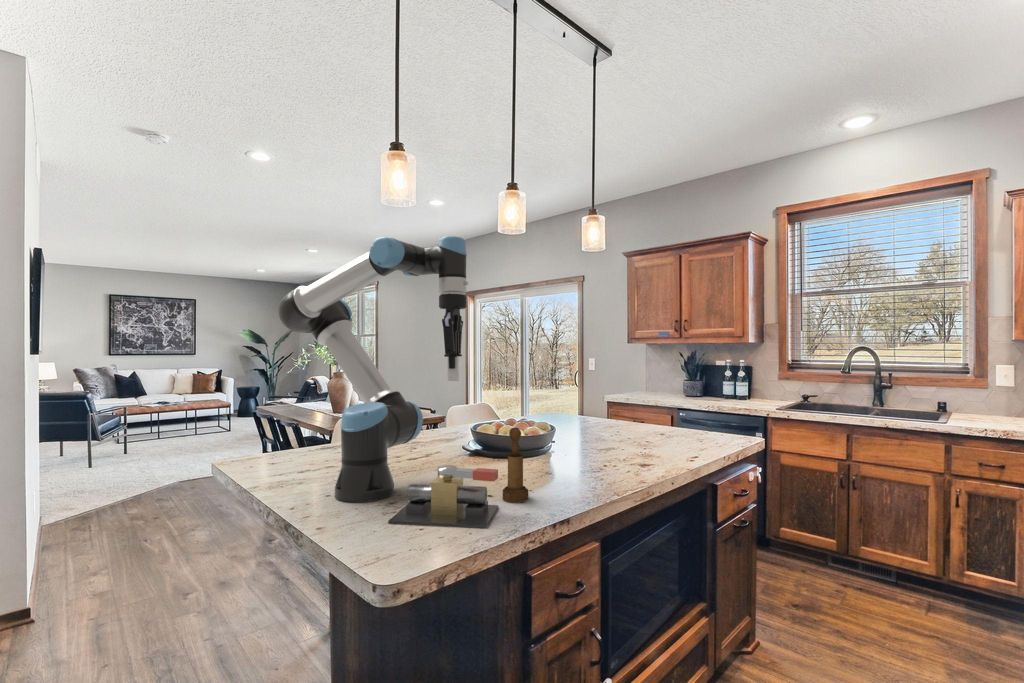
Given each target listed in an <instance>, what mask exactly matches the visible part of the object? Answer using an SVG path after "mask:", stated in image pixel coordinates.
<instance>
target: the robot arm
mask: <svg viewBox="0 0 1024 683" xmlns="http://www.w3.org/2000/svg"><path fill="white" fill-rule="evenodd" d="M467 256H468V254H467V245H466V240H465V239H464V238H463V237H460V236H455V235H451V236H449V235H448V236H441V237H440V238H439V239H438V242H437V245H436V246H430V247H428V246H427V247H420V246H417V245H415V244H411V243H409V242H404V241H402V240H400V239H396V238H394V237H387V236H381V237H377V238H376V239H374V240H373V243H372V244H371V245H370V247H369V251H368V252H366V253H364V254H362V255H360V256H358V257H357V258H355V259H353V260H351V261H350V262H348V263H346V264H344V265H342V266H341V267H339V268H337V269H335V270H334V271H332V272H330V273H328V274H326V275H325V276H323V277H321V278H319V279H318V280H316V281H314V282H313V283H311V284H309V285H307V286H306V285H300V286H297V287H295V289H292V290H290V291H289V292H288V293H287V294H286V295H284V296H283V298H282V299H281V300H280V303H279V305H278V317H279V319H280V322H281V323H282V324H283V325H284V326H285V328H286V329H288V330H290V331H292V332H295V333H299V334H300V333H301V334H311V335H313V337H314V338H315V341H316V343H318V344H319V345H320V346H323V347H324V346H325V347H327V349H328V351H329V352H330V354H331V355H332V357H333V358H334V360H335V361H336V363H337V365H338V366H339V367H340V369H341V370H342V371H343V373H344V374H345V376H346V378H347V379H348V381H349V382H350V384H351V385H352V387H353V389H354V390H355V391H356V393H357V395H358V396H359V398H360V399H361V401H362V402H363V403H357V404H353V405H350V406H348V407H346V408H345V409H344V410H343V411H342V414H341V421H340V422H341V423H340V431H341V432H340V434H341V436H340V438H341V467H340V470H339V473H338V476H337V480H336V483H335V487H334V498H335V500H338V501H341V502H349V503H362V502H365V503H366V502H373V501H378V500H382V499H385V498H388V497H390V496H393V494H394V493H395V482H394V479H393V476H392V472H391V470H390V467H389V464H388V448H389V449H390V448H393V447H395V446H400V445H405V444H407V443H409V442H410V441H413V440H415V439H416V438H418V436H419V435H420V433H421V431H422V428H423V424H424V418H423V417H424V416H423V413H422V410H421V409H420V407H419V406H418V405H417V404H416V403H414V402H412V401H408V400H406V399H405V397H404V396H403V395H402V393H401V392H400V391H399V390H394V389H391V387H390V385H389V384H388V382H387V381H386V380H385V378H384V376H383V374H381V372H380V371H379V369H378V368H377V366H376V365H375V364H374V362H373V360H372V359H371V358H370V356H369V354H368V353H367V352H366V350H365V349H364V347H363V345H362V344H361V343H360V342H359V341H360V340H358V338H357V337H356V336H355V334H354V333H353V331H352V330H353V328H354V326H353V318H352V315H353V313H352V309H351V308H350V306H349V305H348V303H347V302H345V301H344V300H343V299H344V298H347V297H348V296H350V295H352V294H354V293H356V292H358V291H360V290H361V289H364V288H365V287H367V286H369V285H371V284H373V283H374V282H376V281H378V280H380V279H382V278H384V277H385V276H388V275H390V274H391V273H394V272H395V271H399V272H400V271H401V273H403V274H404V275H405V276H414V277H418V276H425V275H428V276H429V275H438V293H439V294H440V295H438V307H439V309H440V310H441V309H442V310H445V312H444V314H445V315H444V316H443V318H442V319H441V322H442V327H443V328H442V329H443V330H442V331H443V340H444V342H443V343H444V354H443V355H444V358H445V357H447V381H448V382H455V381H456V382H458V381H460V376H459V375H460V369H459V368H460V365H459V364H460V363H459V361H460V359H459V358H460V357H463V356H462V355H463V354H462V339H463V337H462V335H463V326H464V321H463V319H462V315H461V310H464V309H465V310H466V308H467V306H468V305H467V301H468V299H467V297H468V296H467V295H466V293H467V286H468V285H469V282H468V281H467Z"/></svg>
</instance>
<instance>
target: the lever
mask: <svg viewBox="0 0 1024 683" xmlns="http://www.w3.org/2000/svg"><path fill="white" fill-rule="evenodd" d="M437 477H439V478H445V479H446V478H454V477H457V478H463V479H469V480H471V479H472V481H481V482H482V481H483V482H495V481H496V480H498V478H499V469H496V468H495V469H493V468H483V467H477V468H466V467H458V466H456V465H452V464H445V465H440V466H437Z"/></svg>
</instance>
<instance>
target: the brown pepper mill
mask: <svg viewBox="0 0 1024 683" xmlns="http://www.w3.org/2000/svg"><path fill="white" fill-rule="evenodd" d="M508 435H509V438H510V439H511V441H512V443H511V445H510V450H511V453H509V454H507V485H506V486H505V487H504V488H502V500H503V501H504V502H506V503H514V504H516V503H517V504H519V503H525V502H527V501H528V500H529V489H528V488H527V487H526V486H525V485H524V455H523V454H521V453H520V448H521V447H520V446H521V445H519V440H520V438H521V435H522V431H521V429H520V428H519V427H511V429H509V431H508Z"/></svg>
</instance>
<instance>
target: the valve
mask: <svg viewBox="0 0 1024 683" xmlns="http://www.w3.org/2000/svg"><path fill="white" fill-rule="evenodd" d="M406 497H407V500H408V502H407V503H406V504H405V506H404V507H402V508H401V509H400V510H399V511H398V512H397V513H395V514H394V515H393V516H392V517H391V518H390V519H388V522H387V523H388V524H390V525H391V524H392V525H395V524H396V525H408V526H409V525H410V526H411V525H412V526H413V525H414V526H432V527H434V526H436V527H452V528H453V527H454V528H469V529H470V528H471V529H472V528H473V529H476V528H477V529H487V528H488V527H489V525H490V523H491V522H492V520H493V518H494V516H495V515H496V512H497V511H498V509H499V505H498V504H489V500H488V488H487V486H480V485H479V486H474V485H464V478H457V477H454V478H446V479H445V478H439V477H438V476H437V477H436V478H434V479H433V480H432V481H431V482H430V484H429V483H428V484H422V483H410V484H409V486H408V488H407V496H406Z"/></svg>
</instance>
